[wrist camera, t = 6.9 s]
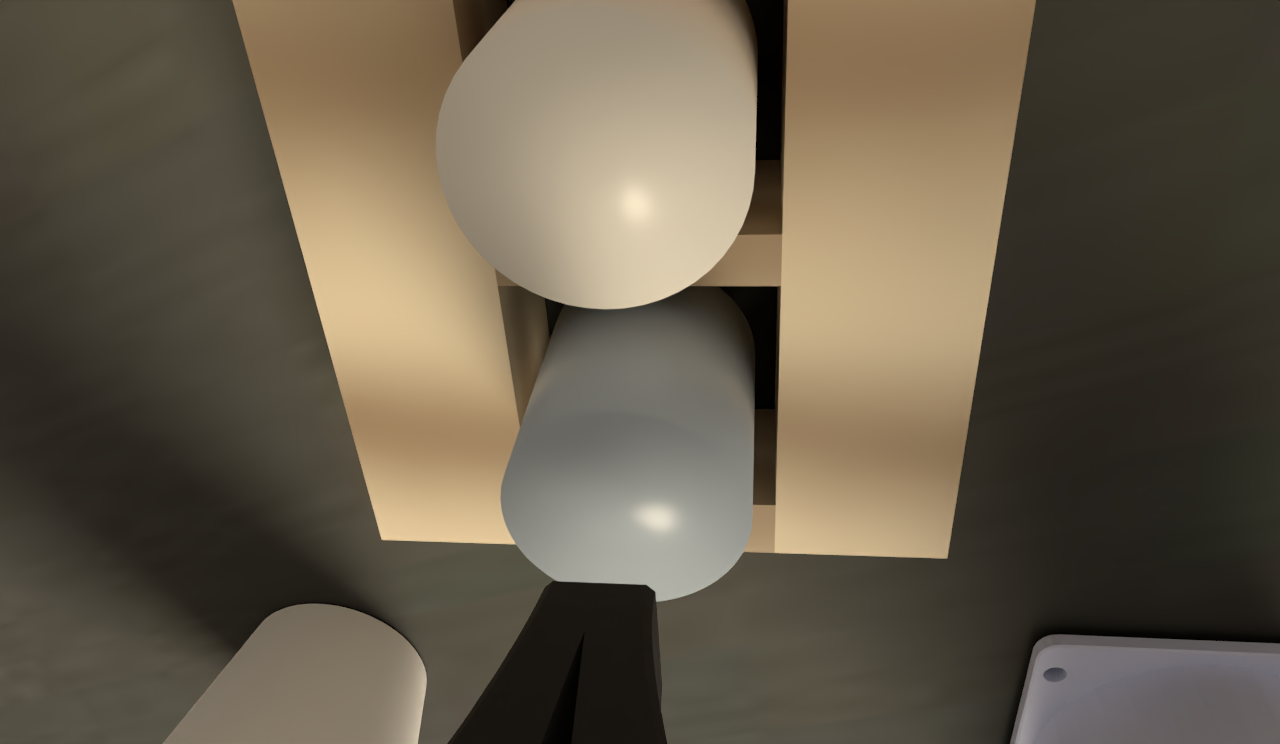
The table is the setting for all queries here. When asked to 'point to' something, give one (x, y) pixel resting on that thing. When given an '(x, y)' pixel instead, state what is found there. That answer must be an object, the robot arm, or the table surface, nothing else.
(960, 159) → the wooden tray
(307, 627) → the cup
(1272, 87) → the table surface
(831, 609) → the table surface
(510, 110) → the key ivory
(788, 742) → the table surface
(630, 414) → the key slate
